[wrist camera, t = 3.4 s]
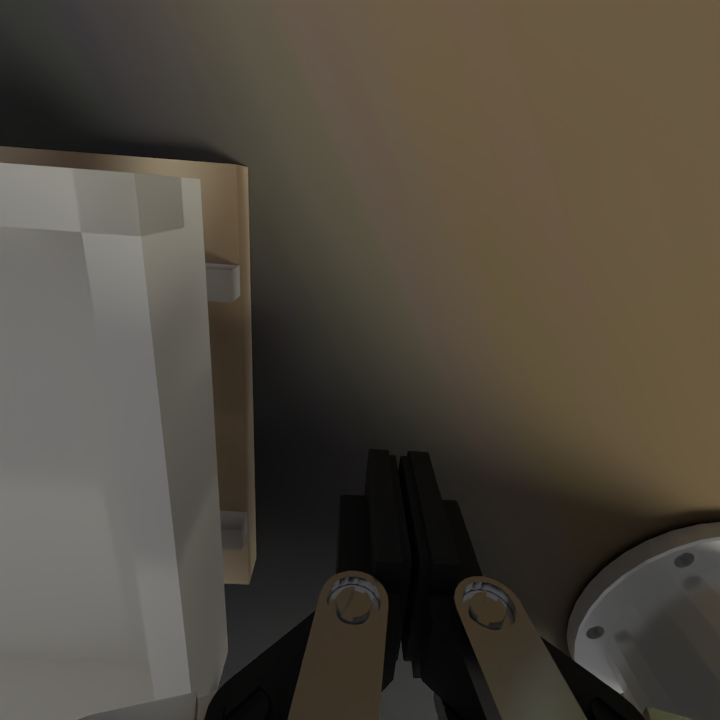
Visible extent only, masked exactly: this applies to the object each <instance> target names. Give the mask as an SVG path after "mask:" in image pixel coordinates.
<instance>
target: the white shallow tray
mask: <svg viewBox="0 0 720 720" xmlns="http://www.w3.org/2000/svg"><path fill="white" fill-rule="evenodd" d="M227 653H228V641H227V624H226V607H225V590H224V573H223V556H222V539H221V523H220V506H219V489H218V472H217V455H216V438H215V421H214V404H213V387H212V370H211V353H210V337H209V320H208V303H207V286H206V269H205V252H204V235H203V218H202V201H201V184H200V179H195V178H184V177H173V176H162V175H151V174H140V173H128V172H115V171H102V170H89V169H76V168H63V167H49V166H36V165H23V164H10V163H0V720H78V719H81V718H83V717H86V716H88V715H92V714H97V713H101V712H106V711H111V710H115V709H120V708H125V707H129V706H134V705H138V704H143V703H148V702H152V701H157V700H162V699H166V698H171V697H175V696H180V695H185V694H189V693H194V692H197V698H199V697H203V696H208V695H212V694H215V693H216V692H217V689H218V685H219V682H220V678H221V675H222V671H223V667H224V664H225V660H226V657H227Z"/></svg>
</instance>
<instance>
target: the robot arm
mask: <svg viewBox="0 0 720 720" xmlns="http://www.w3.org/2000/svg"><path fill="white" fill-rule="evenodd" d="M400 641H401V643H402V652H403V659H404V661H411V662H412V670H413V678H422V681H423V682H424V683H425V684H426V685H427V686H428V687H429V688H430V689H431V690H432V691H434V703H435V708H436V712H437V715H438V719H439V720H720V522H715V523H705V524H697V525H693V526H689V527H685V528H681V529H677V530H672V531H670V532H667V533H665V534H662V535H659V536H657V537H654V538H652V539H649V540H647V541H645V542H643V543H641V544H639V545H638V546H636V547H634V548H632V549H630V550H628V551H627V552H625V553H623V554H622V555H621V556H619V557H618V558H617V559H615V560H614V561H612V562H611V563H610V564H608V565H607V566H606V567H604V568H603V569H602V570H601V571H600V572H599V574H598V575H597V576H596V577H595V578H594V579H593V580H592V581H591V582H590V583H589V584H588V585H587V587H586V588H585V590H584V591H583V592H582V594H581V595H580V597H579V598H578V600H577V601H576V603H575V606H574V608H573V611H572V613H571V616H570V618H569V623H568V629H567V643H568V650H569V653H570V655H571V658H572V659H571V658H570V657H568V656H567V655H565V654H564V653H563V652H561V651H560V650H559V649H557V648H556V647H554V646H553V645H552V644H550V643H549V642H547V641H546V640H545V639H543V638H542V637H541V636H539V634H538V632H537V630H536V629H535V627H534V625H533V623H532V621H531V620H530V618H529V616H528V614H527V613H526V611H525V609H524V607H523V606H522V604H521V602H520V601H519V599H518V598H517V597H516V595H515V594H514V593H513V592H512V591H511V590H510V589H509V588H508V587H506V586H505V585H504V584H502V583H500V582H498V581H496V580H494V579H491V578H487V577H483V576H482V573H481V570H480V567H479V564H478V561H477V558H476V555H475V552H474V550H473V547H472V544H471V541H470V538H469V535H468V532H467V529H466V526H465V523H464V520H463V517H462V514H461V511H460V508H459V505H458V503H457V502H456V501H455V500H442V499H441V495H440V492H439V488H438V485H437V481H436V478H435V474H434V471H433V467H432V464H431V460H430V457H429V454H428V452H417V451H408V453H407V456H401V457H400V463H399V471H398V467H397V461H396V456H395V455H389V451H388V450H380V449H369V452H368V463H367V473H366V484H365V495H364V496H357V495H340V507H339V522H338V539H337V559H336V575H335V576H333V577H331V578H330V579H329V580H328V581H327V582H326V583H325V584H324V586H323V588H322V590H321V592H320V596H319V600H318V603H317V607H316V611H314V612H313V613H312V614H311V615H309V616H308V617H307V618H306V619H304V620H303V621H302V622H301V623H299V624H298V625H297V626H296V627H294V628H293V629H292V630H291V631H289V632H288V633H287V634H286V635H284V636H283V637H282V638H281V639H279V640H278V641H277V642H276V643H274V644H273V645H272V646H271V647H269V648H268V649H267V650H266V651H264V652H263V653H262V654H261V655H259V656H258V657H257V658H256V659H254V660H253V661H252V662H251V663H249V664H248V665H247V666H246V667H244V668H243V669H242V670H241V671H239V672H238V673H237V674H236V675H234V676H233V677H232V678H231V679H230V680H228V681H227V682H226V683H225V684H224V685H223V686H222V687H221V688H220V689H219V690H218V691H217V692H216V693H215V694H212V695H208V696H203V697H199V698H197V692H194V693H189V694H185V695H180V696H175V697H171V698H166V699H162V700H157V701H152V702H148V703H143V704H138V705H134V706H129V707H125V708H120V709H115V710H111V711H106V712H101V713H97V714H92V715H88V716H86V717H83V718H81V719H78V720H379V714H380V702H381V692H382V691H383V690H384V689H385V688H386V687H387V686H388V685H389V683H390V682H391V681H392V680H393V677H394V670H395V663H396V661H397V660H398V654H399V648H400Z"/></svg>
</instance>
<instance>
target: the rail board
mask: <svg viewBox="0 0 720 720" xmlns="http://www.w3.org/2000/svg"><path fill="white" fill-rule="evenodd" d="M0 163H10V164H23V165H36V166H49V167H63V168H76V169H89V170H102V171H115V172H128V173H140V174H151V175H162V176H173V177H184V178H195V179H200V184H201V201H202V218H203V235H204V252H205V269H206V286H207V303H208V320H209V337H210V353H211V370H212V387H213V404H214V421H215V438H216V455H217V472H218V489H219V506H220V523H221V539H222V556H223V573H224V583H225V584H247V585H249V583H250V580H251V576H252V572H253V569H254V565H255V561H256V513H255V467H254V421H253V376H252V330H251V284H250V238H249V193H248V167H245V166H241V165H237V164H225V163H212V162H199V161H186V160H173V159H160V158H147V157H134V156H121V155H108V154H95V153H82V152H69V151H56V150H43V149H30V148H17V147H4V146H0Z"/></svg>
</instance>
